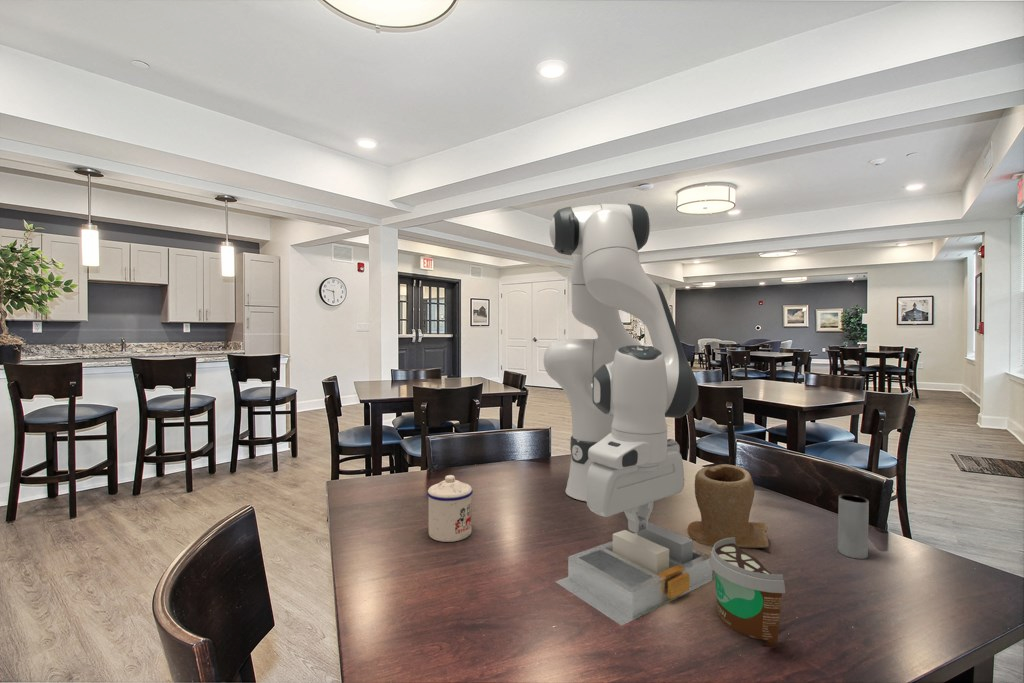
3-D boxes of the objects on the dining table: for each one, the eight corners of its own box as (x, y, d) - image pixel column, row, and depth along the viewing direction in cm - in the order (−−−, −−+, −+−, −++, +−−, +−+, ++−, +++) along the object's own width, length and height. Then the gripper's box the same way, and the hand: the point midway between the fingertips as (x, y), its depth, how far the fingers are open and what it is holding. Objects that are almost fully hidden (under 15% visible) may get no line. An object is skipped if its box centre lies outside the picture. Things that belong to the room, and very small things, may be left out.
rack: (653, 549, 91) (653, 523, 91) (726, 582, 79) (726, 553, 79) (555, 587, 77) (555, 557, 77) (624, 635, 65) (625, 599, 65)
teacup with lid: (463, 545, 92) (462, 485, 92) (419, 540, 95) (419, 481, 94) (483, 521, 104) (483, 467, 104) (444, 517, 106) (444, 464, 106)
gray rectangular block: (648, 555, 86) (648, 521, 86) (692, 576, 79) (693, 539, 79) (637, 559, 85) (637, 525, 84) (681, 581, 77) (681, 544, 77)
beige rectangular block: (624, 564, 83) (624, 529, 83) (668, 587, 75) (669, 549, 75) (612, 569, 81) (612, 534, 81) (656, 593, 74) (656, 554, 74)
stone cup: (695, 555, 89) (695, 474, 88) (683, 529, 100) (684, 457, 100) (784, 562, 86) (785, 478, 86) (762, 534, 98) (763, 460, 97)
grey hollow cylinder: (862, 550, 91) (863, 495, 91) (871, 560, 86) (872, 503, 86) (834, 546, 92) (835, 492, 92) (842, 556, 88) (843, 500, 88)
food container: (693, 602, 73) (693, 537, 73) (732, 601, 74) (733, 535, 73) (738, 657, 61) (739, 579, 60) (784, 655, 61) (785, 577, 61)
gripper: (663, 433, 87) (662, 509, 88) (580, 451, 76) (579, 538, 76) (694, 440, 82) (693, 520, 83) (610, 460, 70) (609, 553, 71)
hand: (638, 529), depth 79 cm, fingers closed
